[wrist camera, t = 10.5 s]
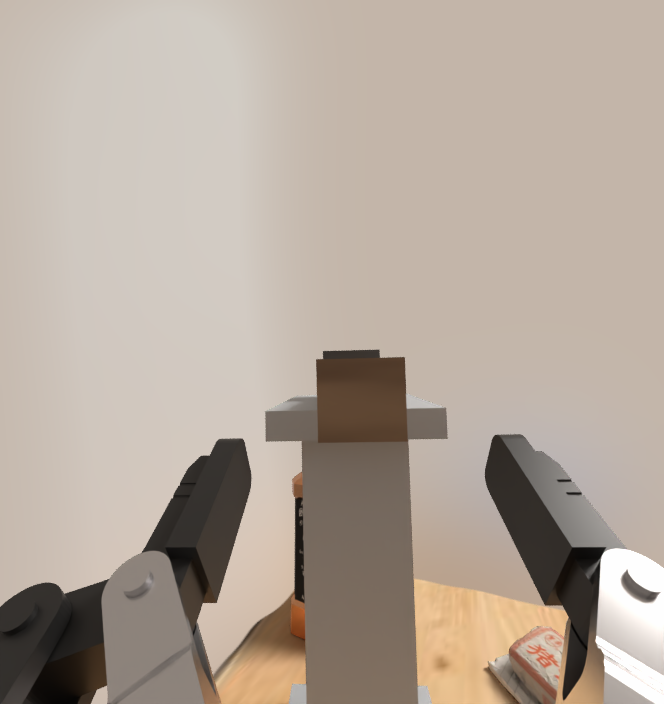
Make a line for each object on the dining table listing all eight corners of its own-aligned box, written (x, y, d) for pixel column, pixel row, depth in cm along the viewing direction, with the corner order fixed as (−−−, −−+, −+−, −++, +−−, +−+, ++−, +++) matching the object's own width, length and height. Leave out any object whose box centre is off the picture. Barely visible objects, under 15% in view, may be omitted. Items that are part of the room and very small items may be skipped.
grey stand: (487, 949, 19) (461, 407, 21) (255, 938, 20) (250, 411, 22) (427, 706, 33) (415, 393, 35) (292, 704, 34) (287, 396, 36)
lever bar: (433, 441, 11) (428, 318, 12) (293, 443, 12) (291, 322, 12) (375, 395, 33) (374, 352, 34) (327, 396, 34) (326, 354, 34)
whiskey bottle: (326, 586, 52) (322, 387, 54) (384, 608, 47) (377, 387, 49) (286, 631, 43) (282, 391, 45) (351, 663, 38) (344, 392, 40)
